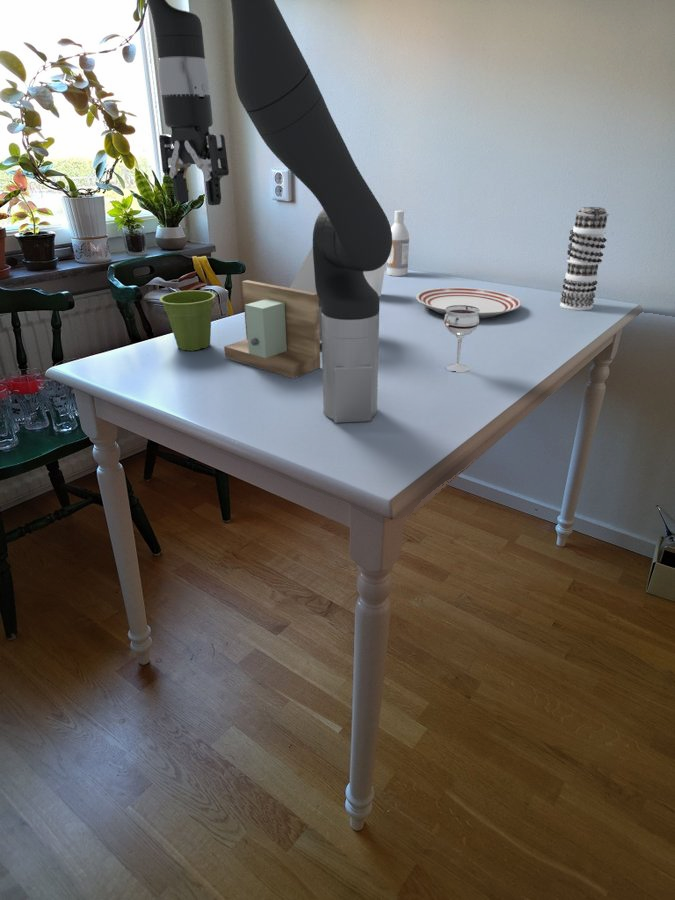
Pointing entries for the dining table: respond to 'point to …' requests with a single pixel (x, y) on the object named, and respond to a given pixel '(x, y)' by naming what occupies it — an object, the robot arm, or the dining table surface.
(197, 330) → the plant pot
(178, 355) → the dining table surface
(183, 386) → the dining table surface
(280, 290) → the wooden stand
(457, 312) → the wineglass
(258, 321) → the cabinet
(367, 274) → the cup
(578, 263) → the grey white tall cylinder
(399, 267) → the bath foam
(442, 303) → the dinner plate
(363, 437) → the dining table surface
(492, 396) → the dining table surface
